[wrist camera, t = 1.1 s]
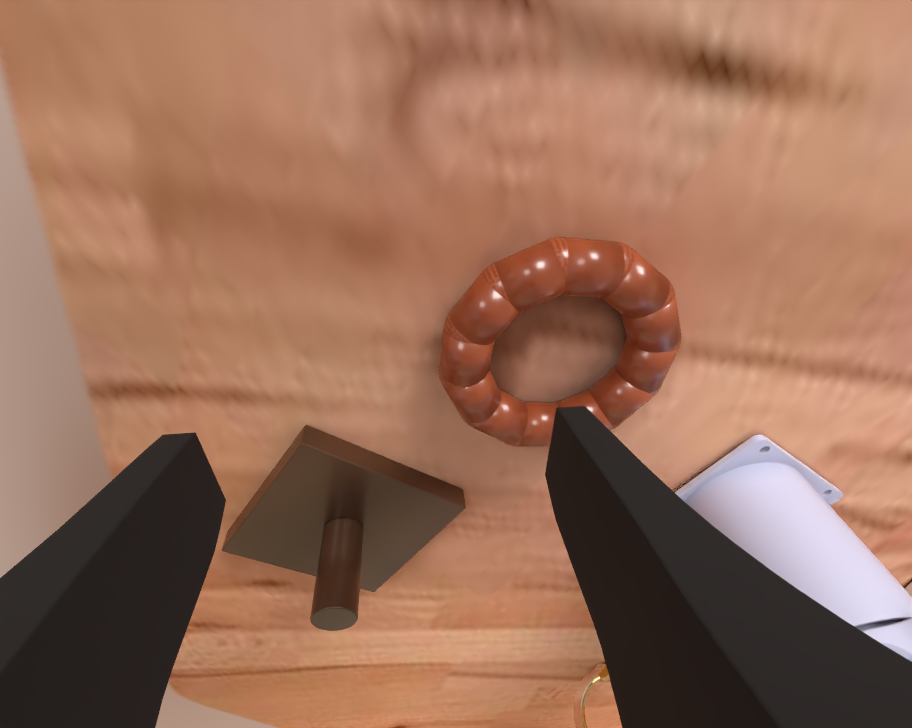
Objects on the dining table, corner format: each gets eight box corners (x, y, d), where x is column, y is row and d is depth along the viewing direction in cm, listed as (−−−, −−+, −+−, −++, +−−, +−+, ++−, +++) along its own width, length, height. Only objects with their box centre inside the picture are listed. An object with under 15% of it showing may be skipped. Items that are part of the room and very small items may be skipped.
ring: (569, 682, 42) (601, 802, 36) (557, 671, 40) (587, 794, 34) (644, 659, 41) (691, 779, 34) (635, 646, 39) (682, 770, 32)
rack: (463, 489, 25) (478, 594, 20) (374, 573, 29) (370, 678, 24) (305, 424, 21) (280, 535, 17) (227, 530, 25) (189, 645, 20)
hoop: (710, 313, 20) (737, 339, 18) (554, 451, 24) (566, 481, 22) (547, 176, 16) (565, 193, 14) (394, 369, 20) (394, 399, 18)
